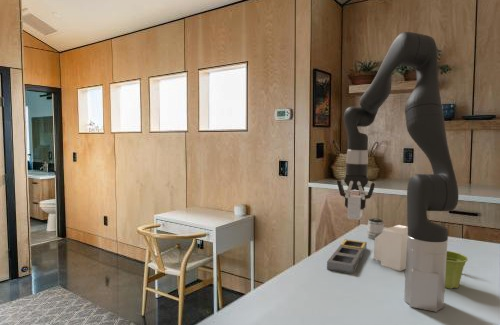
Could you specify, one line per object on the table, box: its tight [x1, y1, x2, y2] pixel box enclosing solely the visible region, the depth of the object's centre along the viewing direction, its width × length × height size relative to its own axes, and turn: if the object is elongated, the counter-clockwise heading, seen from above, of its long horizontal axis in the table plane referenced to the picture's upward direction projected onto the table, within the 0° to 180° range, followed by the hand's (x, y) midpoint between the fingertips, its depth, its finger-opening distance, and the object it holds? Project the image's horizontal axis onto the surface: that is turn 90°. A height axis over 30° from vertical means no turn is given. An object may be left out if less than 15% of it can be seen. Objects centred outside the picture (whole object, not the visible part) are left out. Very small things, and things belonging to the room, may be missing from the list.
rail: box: [326, 239, 368, 275], centre depth 127 cm, size 28×8×3 cm, turn 154°
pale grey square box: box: [346, 194, 363, 221], centre depth 134 cm, size 4×4×8 cm
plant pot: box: [445, 250, 468, 289], centre depth 105 cm, size 9×9×9 cm
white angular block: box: [373, 224, 408, 272], centre depth 123 cm, size 11×11×12 cm
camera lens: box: [367, 218, 385, 240], centre depth 152 cm, size 6×6×8 cm
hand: (355, 208), depth 134 cm, fingers closed on pale grey square box, 4 cm apart
